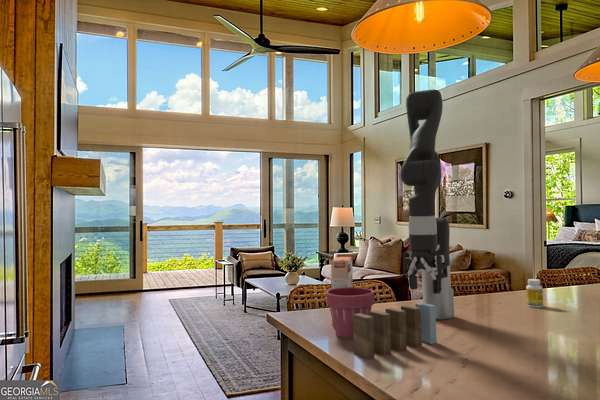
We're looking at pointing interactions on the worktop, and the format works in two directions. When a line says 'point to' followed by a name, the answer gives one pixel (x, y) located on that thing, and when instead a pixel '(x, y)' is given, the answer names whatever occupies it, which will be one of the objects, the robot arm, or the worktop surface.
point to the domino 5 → (428, 322)
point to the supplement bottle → (534, 293)
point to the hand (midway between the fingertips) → (425, 291)
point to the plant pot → (348, 307)
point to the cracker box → (341, 273)
